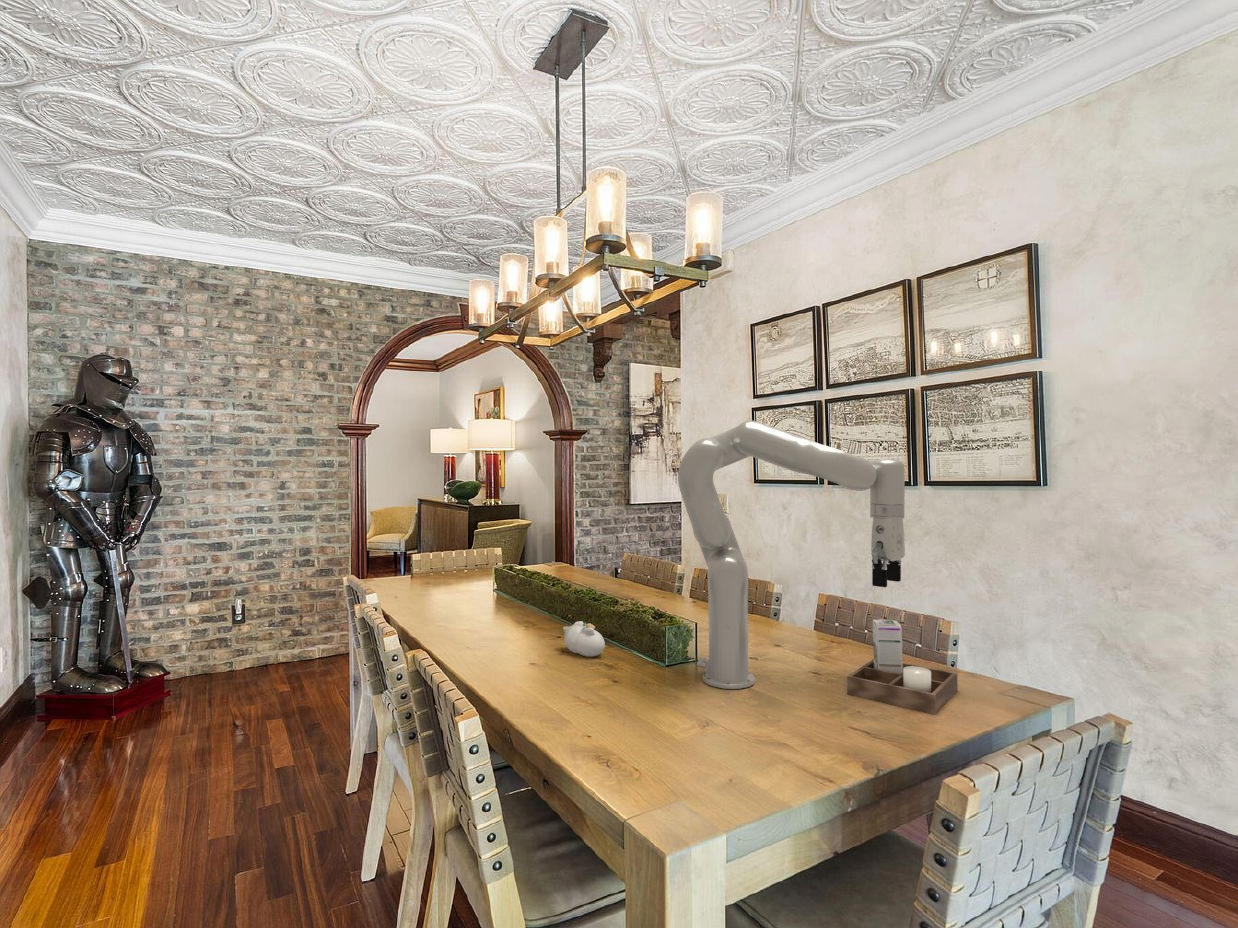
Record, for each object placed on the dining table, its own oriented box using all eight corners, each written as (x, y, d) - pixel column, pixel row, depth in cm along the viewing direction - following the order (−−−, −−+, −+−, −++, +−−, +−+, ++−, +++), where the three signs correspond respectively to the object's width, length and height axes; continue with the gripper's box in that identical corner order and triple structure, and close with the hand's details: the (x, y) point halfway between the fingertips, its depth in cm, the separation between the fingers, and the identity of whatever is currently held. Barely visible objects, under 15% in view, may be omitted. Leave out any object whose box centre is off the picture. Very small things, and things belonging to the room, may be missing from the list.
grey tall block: (904, 687, 147) (903, 625, 148) (877, 686, 149) (876, 624, 149) (898, 679, 153) (897, 619, 153) (872, 678, 154) (871, 618, 154)
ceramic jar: (900, 702, 138) (899, 670, 138) (908, 695, 142) (907, 664, 142) (927, 708, 135) (926, 675, 135) (934, 701, 139) (934, 669, 139)
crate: (847, 698, 144) (847, 676, 144) (875, 677, 158) (875, 657, 158) (935, 719, 132) (934, 694, 132) (957, 694, 146) (957, 672, 146)
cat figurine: (606, 624, 176) (568, 610, 186) (587, 644, 171) (550, 628, 181) (615, 649, 180) (578, 634, 190) (598, 669, 175) (560, 652, 185)
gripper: (891, 514, 142) (891, 591, 142) (914, 510, 155) (914, 580, 155) (857, 512, 147) (857, 586, 147) (883, 509, 160) (883, 577, 160)
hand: (886, 583), depth 151 cm, fingers open, 9 cm apart
